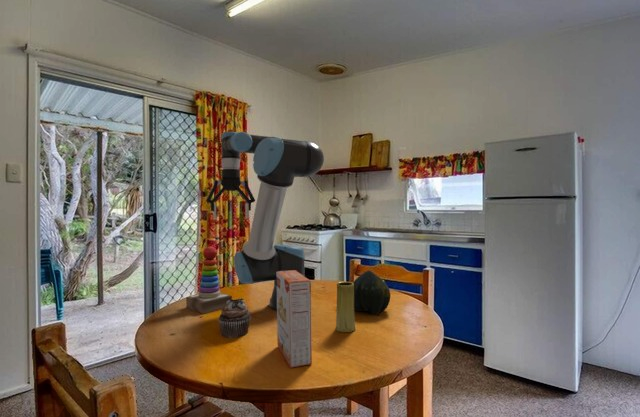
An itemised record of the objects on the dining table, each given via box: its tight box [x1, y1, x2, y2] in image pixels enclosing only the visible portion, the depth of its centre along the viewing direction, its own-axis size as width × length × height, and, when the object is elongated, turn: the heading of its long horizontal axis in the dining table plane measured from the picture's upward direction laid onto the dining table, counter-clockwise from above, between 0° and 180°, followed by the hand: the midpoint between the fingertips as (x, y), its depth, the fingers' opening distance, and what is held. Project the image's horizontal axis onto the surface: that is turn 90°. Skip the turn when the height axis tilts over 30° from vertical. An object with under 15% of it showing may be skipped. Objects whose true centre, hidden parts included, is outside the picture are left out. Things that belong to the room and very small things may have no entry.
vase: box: [335, 281, 356, 333], centre depth 111 cm, size 6×6×14 cm
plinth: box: [185, 292, 233, 315], centre depth 136 cm, size 12×12×4 cm
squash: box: [352, 269, 391, 315], centre depth 130 cm, size 14×15×15 cm
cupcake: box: [217, 298, 252, 339], centre depth 108 cm, size 10×10×10 cm
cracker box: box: [276, 270, 313, 369], centre depth 92 cm, size 14×6×21 cm, turn 19°
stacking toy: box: [197, 246, 221, 298], centre depth 135 cm, size 8×8×19 cm
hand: (231, 218), depth 152 cm, fingers open, 13 cm apart
